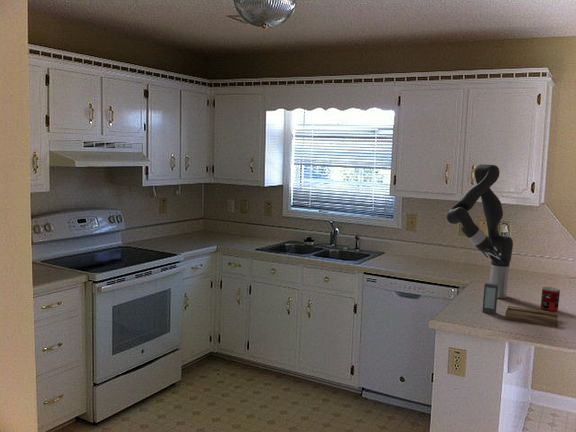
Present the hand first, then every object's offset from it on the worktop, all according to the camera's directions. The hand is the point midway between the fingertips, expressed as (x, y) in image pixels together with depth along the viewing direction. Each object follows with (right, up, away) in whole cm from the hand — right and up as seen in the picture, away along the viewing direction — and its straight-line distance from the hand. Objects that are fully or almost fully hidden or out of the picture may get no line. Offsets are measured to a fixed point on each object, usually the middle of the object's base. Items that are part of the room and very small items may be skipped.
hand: (501, 262), depth 283 cm
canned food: (+26, -24, +5) cm, 36 cm away
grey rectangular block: (-8, -24, -4) cm, 25 cm away
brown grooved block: (+9, -26, -14) cm, 30 cm away
